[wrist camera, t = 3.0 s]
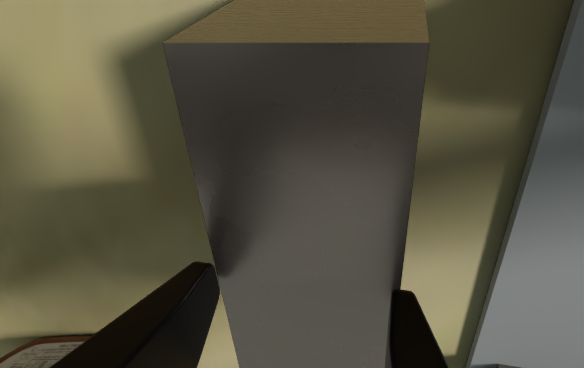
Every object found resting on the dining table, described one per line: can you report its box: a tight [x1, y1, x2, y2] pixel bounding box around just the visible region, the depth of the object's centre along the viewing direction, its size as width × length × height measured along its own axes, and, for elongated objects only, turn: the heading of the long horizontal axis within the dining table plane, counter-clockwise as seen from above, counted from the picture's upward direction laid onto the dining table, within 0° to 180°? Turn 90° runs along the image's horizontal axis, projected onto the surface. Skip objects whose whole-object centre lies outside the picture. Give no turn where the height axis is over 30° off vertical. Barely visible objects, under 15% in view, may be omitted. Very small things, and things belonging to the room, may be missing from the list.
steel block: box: [163, 0, 429, 368], centre depth 11 cm, size 4×10×6 cm, turn 4°
